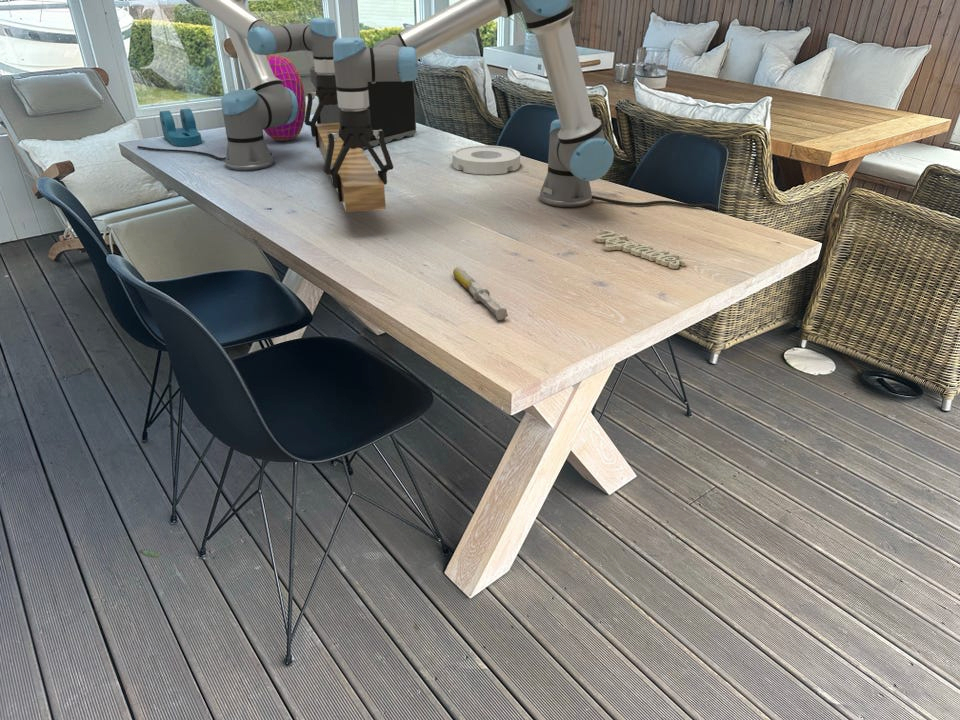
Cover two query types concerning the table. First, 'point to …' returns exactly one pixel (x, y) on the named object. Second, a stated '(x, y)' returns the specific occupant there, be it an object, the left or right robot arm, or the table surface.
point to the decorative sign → (639, 249)
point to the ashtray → (486, 159)
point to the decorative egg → (292, 80)
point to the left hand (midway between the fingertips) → (334, 145)
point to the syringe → (479, 293)
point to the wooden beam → (354, 174)
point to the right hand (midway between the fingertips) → (361, 198)
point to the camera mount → (180, 135)
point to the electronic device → (382, 109)
